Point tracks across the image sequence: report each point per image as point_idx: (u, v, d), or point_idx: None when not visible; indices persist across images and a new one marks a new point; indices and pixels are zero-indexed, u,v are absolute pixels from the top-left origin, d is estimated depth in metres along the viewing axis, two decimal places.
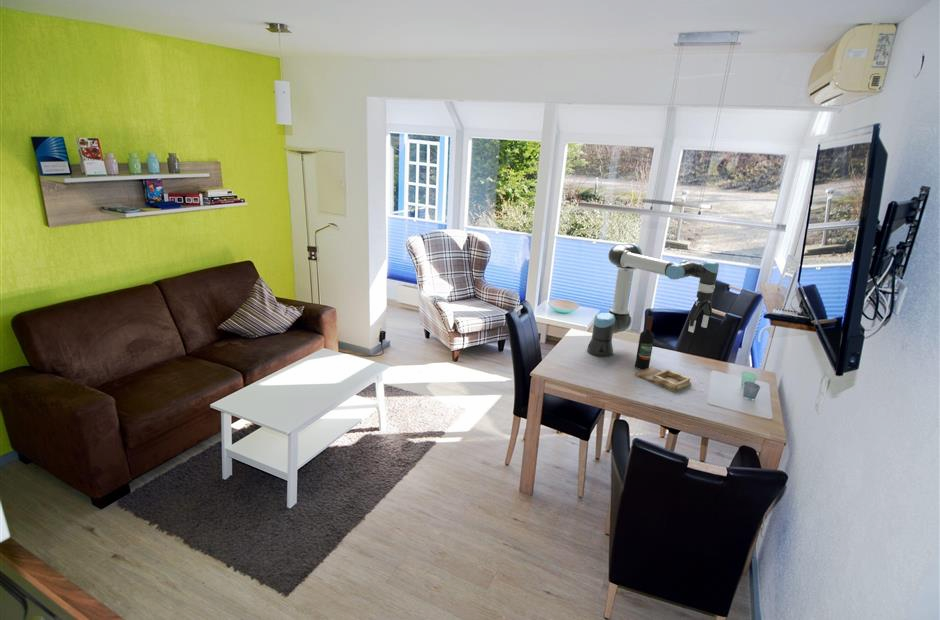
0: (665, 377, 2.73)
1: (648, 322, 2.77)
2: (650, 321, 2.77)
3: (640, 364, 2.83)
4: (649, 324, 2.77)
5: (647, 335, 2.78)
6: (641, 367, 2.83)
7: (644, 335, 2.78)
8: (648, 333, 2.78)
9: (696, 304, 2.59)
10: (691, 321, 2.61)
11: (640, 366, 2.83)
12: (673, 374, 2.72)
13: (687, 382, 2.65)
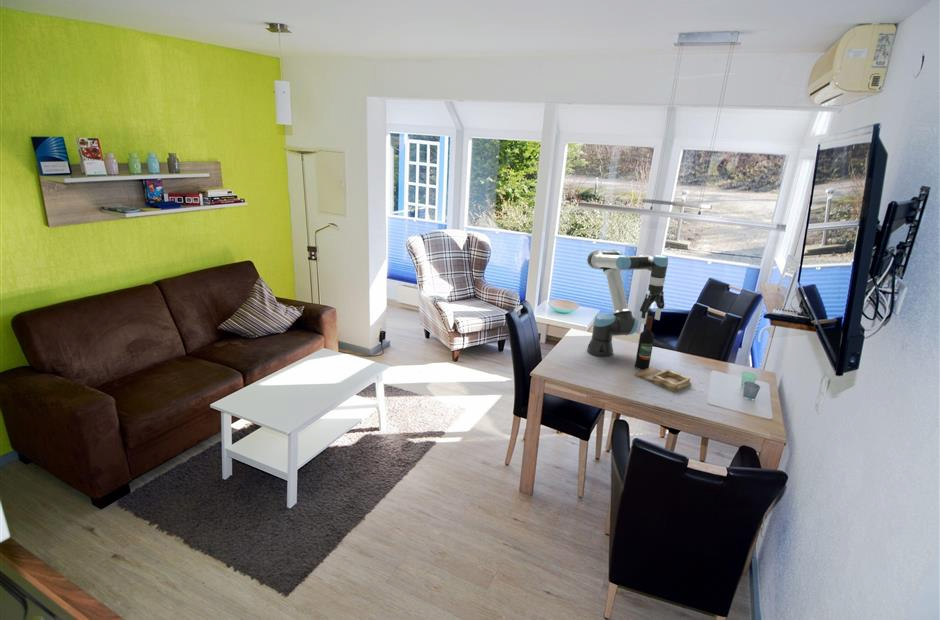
0: (665, 377, 2.73)
1: (648, 322, 2.77)
2: (650, 321, 2.77)
3: (640, 364, 2.83)
4: (649, 324, 2.77)
5: (647, 335, 2.78)
6: (641, 367, 2.83)
7: (644, 335, 2.78)
8: (648, 333, 2.78)
9: (647, 297, 2.69)
10: (643, 313, 2.71)
11: (640, 366, 2.83)
12: (673, 374, 2.72)
13: (687, 382, 2.65)
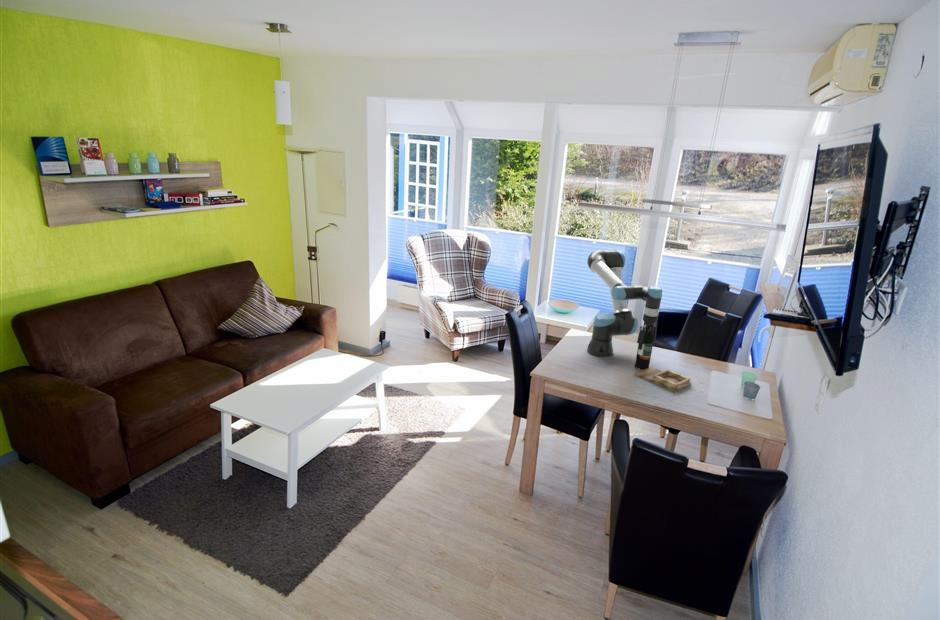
0: (665, 377, 2.73)
1: None
2: None
3: (640, 364, 2.83)
4: None
5: (647, 335, 2.78)
6: (641, 367, 2.83)
7: None
8: (648, 333, 2.78)
9: (641, 329, 2.75)
10: (640, 345, 2.79)
11: (640, 366, 2.83)
12: (673, 374, 2.72)
13: (687, 382, 2.65)
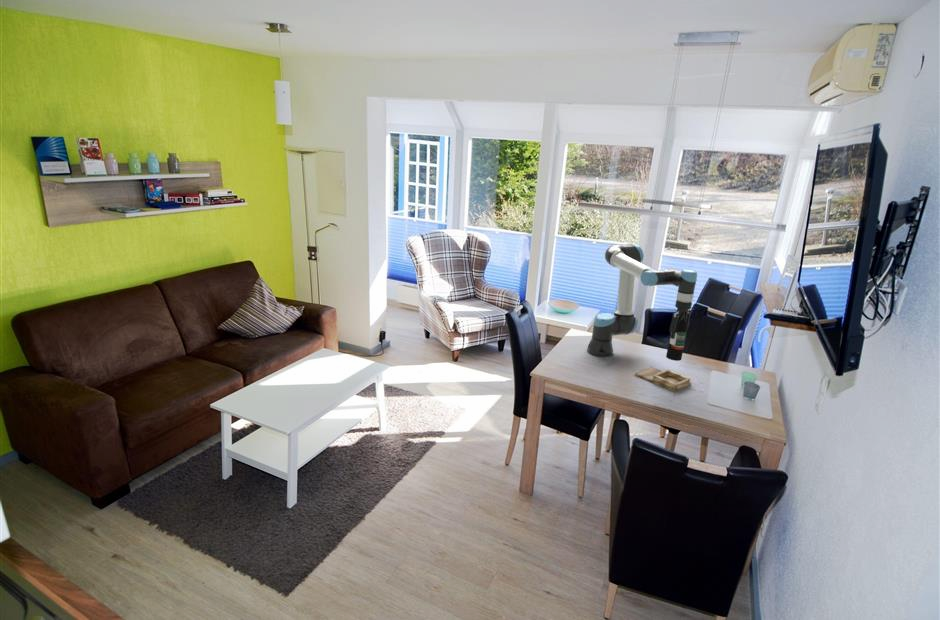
0: (665, 377, 2.73)
1: None
2: None
3: (672, 354, 2.61)
4: None
5: (681, 322, 2.56)
6: (673, 358, 2.61)
7: None
8: None
9: (674, 316, 2.54)
10: (672, 333, 2.57)
11: (672, 357, 2.61)
12: (673, 374, 2.72)
13: (687, 382, 2.65)
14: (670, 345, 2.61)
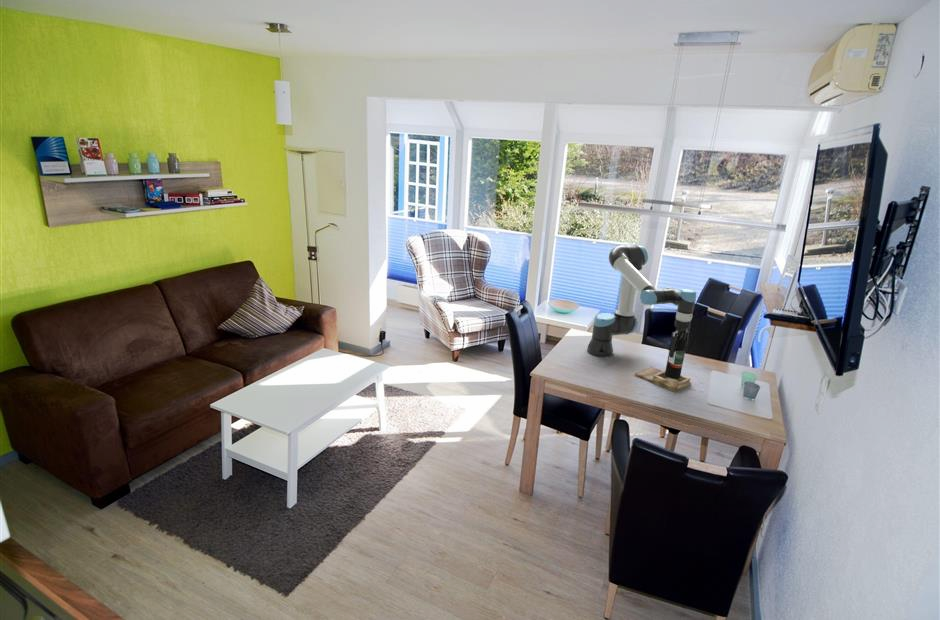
0: (665, 377, 2.73)
1: None
2: None
3: (671, 373, 2.63)
4: None
5: (680, 341, 2.58)
6: (672, 376, 2.63)
7: None
8: None
9: (673, 335, 2.55)
10: (671, 352, 2.59)
11: (671, 375, 2.63)
12: None
13: (687, 382, 2.65)
14: (669, 363, 2.63)
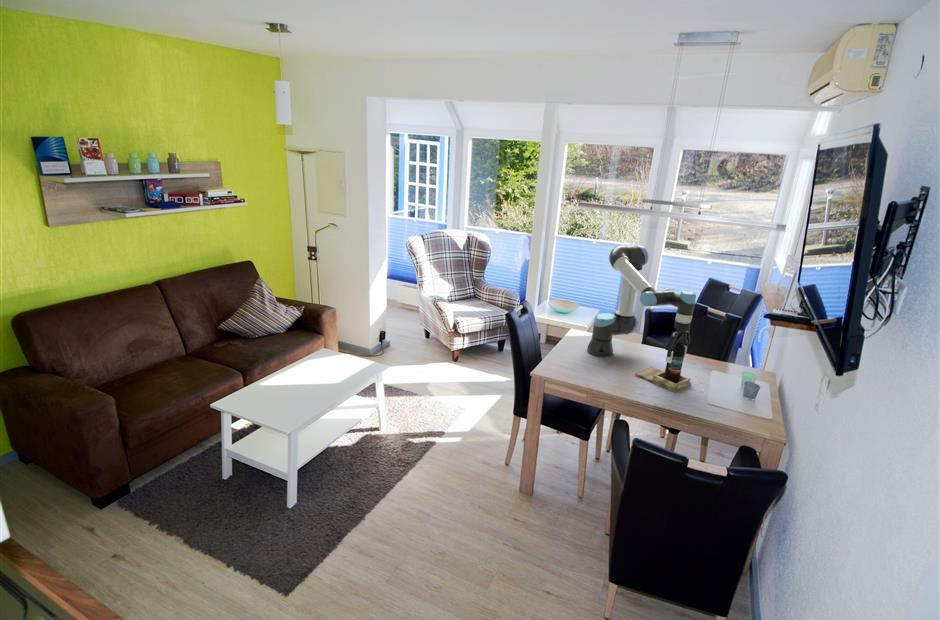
0: None
1: None
2: None
3: (670, 378, 2.64)
4: None
5: (678, 347, 2.59)
6: (671, 381, 2.64)
7: (675, 348, 2.59)
8: (678, 345, 2.59)
9: (673, 335, 2.55)
10: (668, 352, 2.57)
11: (670, 380, 2.65)
12: None
13: (687, 382, 2.65)
14: (667, 369, 2.64)
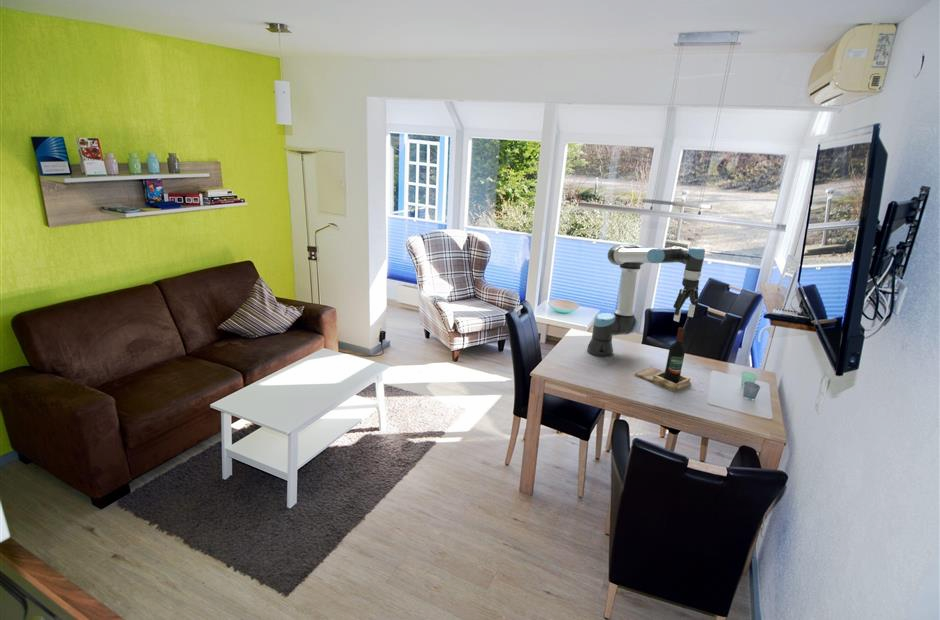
0: None
1: (679, 334, 2.59)
2: (681, 333, 2.58)
3: (670, 378, 2.64)
4: (680, 336, 2.59)
5: (678, 347, 2.59)
6: (671, 381, 2.64)
7: (675, 348, 2.59)
8: (678, 345, 2.59)
9: (681, 292, 2.48)
10: (676, 310, 2.50)
11: (670, 380, 2.65)
12: None
13: (687, 382, 2.65)
14: (667, 369, 2.64)
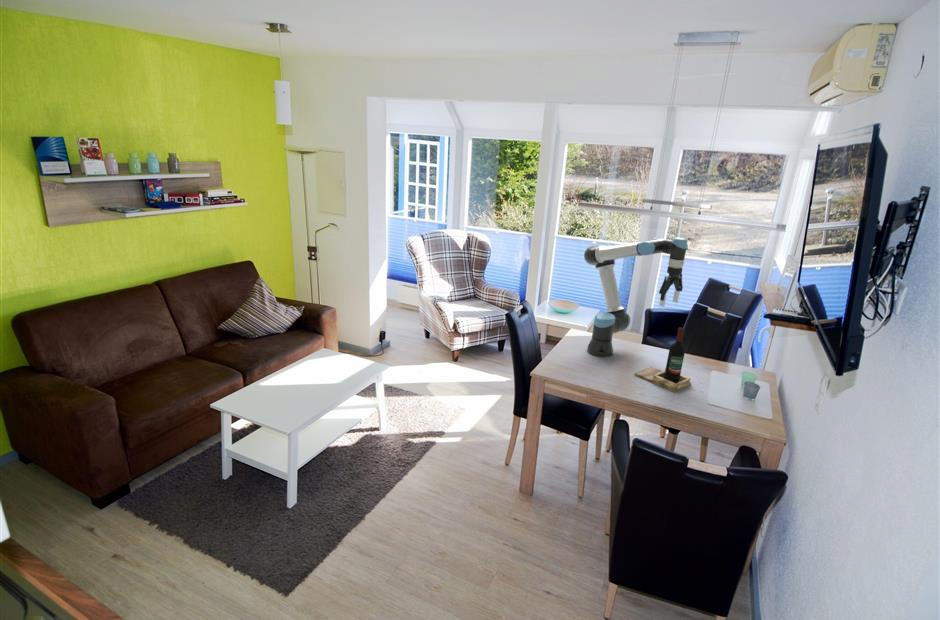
0: None
1: (679, 334, 2.59)
2: (681, 333, 2.58)
3: (670, 378, 2.64)
4: (680, 336, 2.59)
5: (678, 347, 2.59)
6: (671, 381, 2.64)
7: (675, 348, 2.59)
8: (678, 345, 2.59)
9: (666, 279, 2.71)
10: (662, 295, 2.73)
11: (670, 380, 2.65)
12: None
13: (687, 382, 2.65)
14: (667, 369, 2.64)
